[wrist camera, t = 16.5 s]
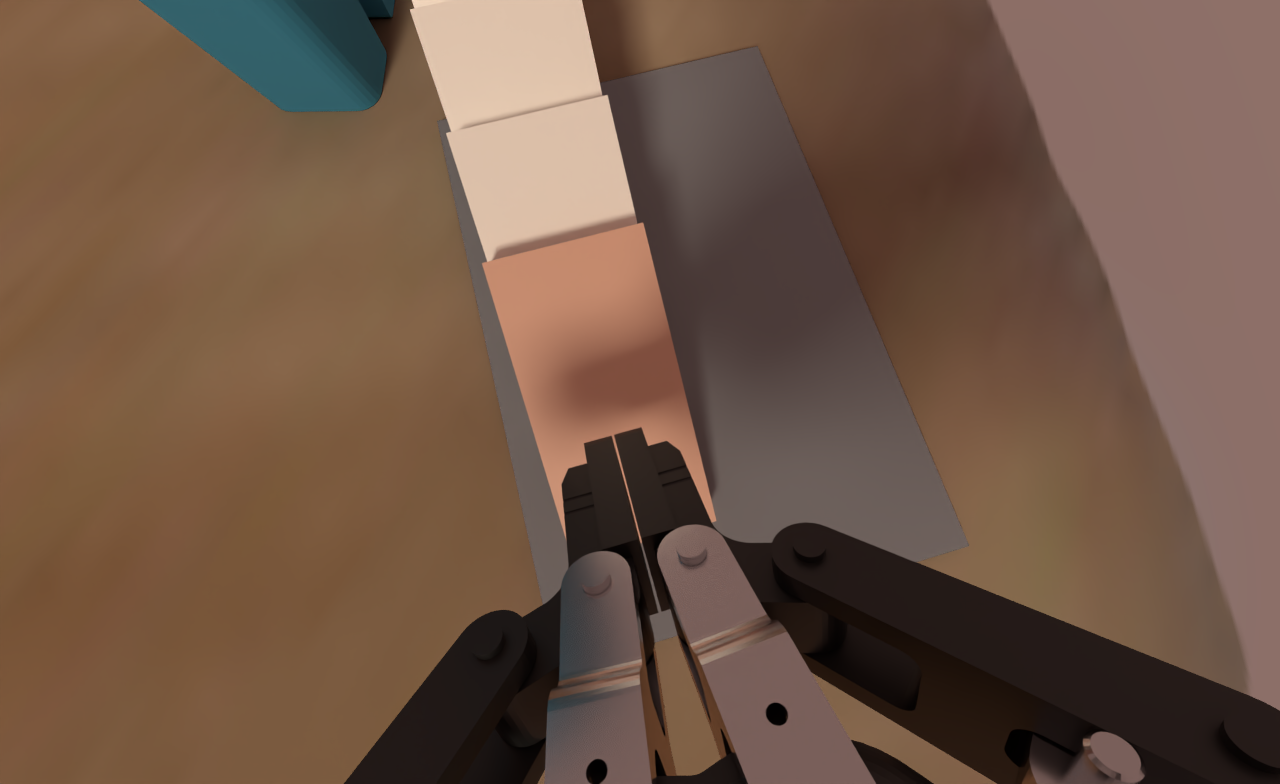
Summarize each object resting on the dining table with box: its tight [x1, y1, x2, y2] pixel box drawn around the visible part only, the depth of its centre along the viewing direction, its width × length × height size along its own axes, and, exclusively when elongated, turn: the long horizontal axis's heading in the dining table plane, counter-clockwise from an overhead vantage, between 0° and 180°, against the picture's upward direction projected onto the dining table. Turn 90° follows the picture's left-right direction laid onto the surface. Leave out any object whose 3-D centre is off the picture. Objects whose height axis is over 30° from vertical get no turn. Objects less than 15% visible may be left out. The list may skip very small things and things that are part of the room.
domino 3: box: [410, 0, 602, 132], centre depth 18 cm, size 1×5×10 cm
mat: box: [437, 46, 969, 642], centre depth 20 cm, size 23×15×1 cm, turn 16°
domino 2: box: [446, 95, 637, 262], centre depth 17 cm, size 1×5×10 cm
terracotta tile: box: [482, 223, 716, 543], centre depth 17 cm, size 1×5×10 cm
